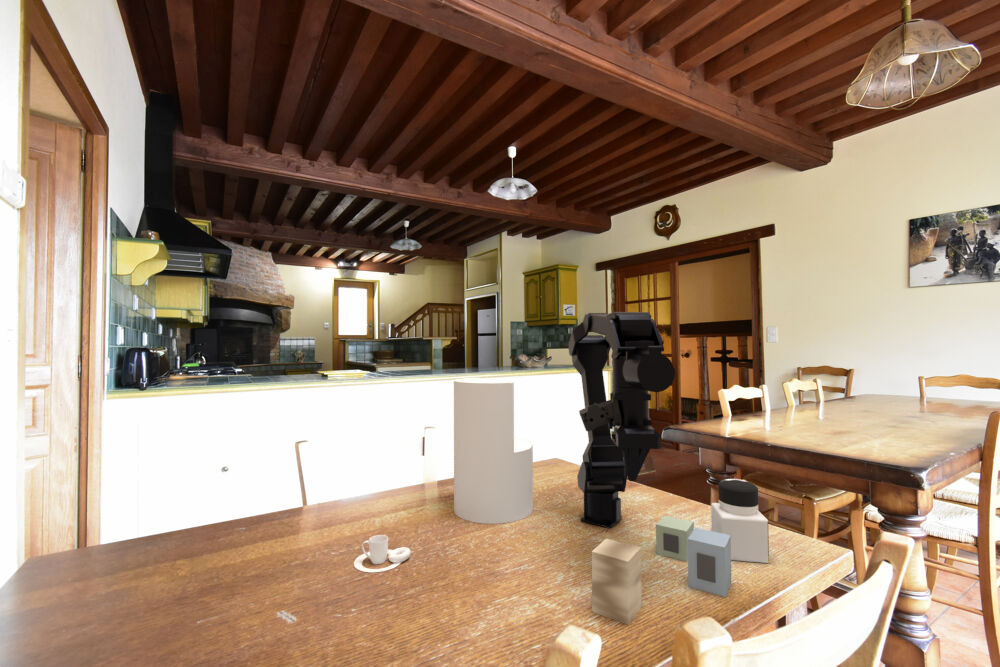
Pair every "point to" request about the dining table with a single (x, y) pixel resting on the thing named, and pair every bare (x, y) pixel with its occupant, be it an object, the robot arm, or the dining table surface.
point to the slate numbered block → (709, 561)
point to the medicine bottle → (741, 521)
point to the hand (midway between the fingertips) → (631, 480)
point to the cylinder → (489, 454)
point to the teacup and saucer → (381, 554)
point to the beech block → (616, 580)
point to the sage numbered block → (673, 537)
